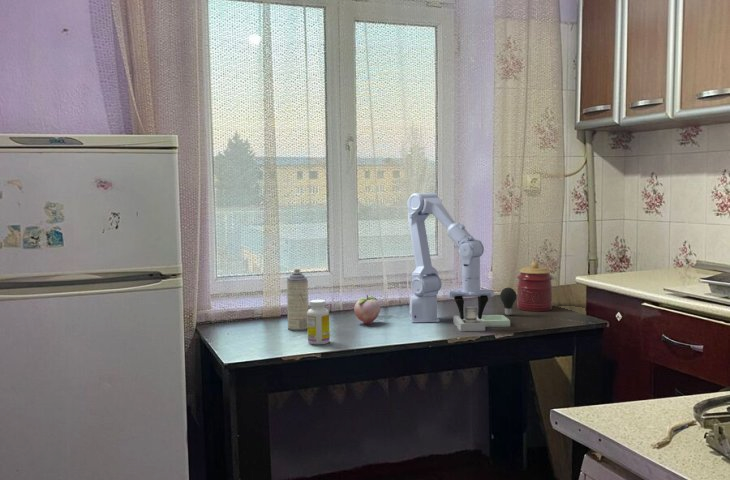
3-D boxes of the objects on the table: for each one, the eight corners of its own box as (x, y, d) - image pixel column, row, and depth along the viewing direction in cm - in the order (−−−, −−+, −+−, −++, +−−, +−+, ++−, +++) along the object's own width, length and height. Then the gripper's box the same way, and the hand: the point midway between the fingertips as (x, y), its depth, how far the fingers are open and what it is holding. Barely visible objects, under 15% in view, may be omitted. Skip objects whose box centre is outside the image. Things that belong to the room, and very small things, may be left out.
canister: (510, 306, 266) (510, 260, 264) (540, 304, 270) (541, 258, 268) (528, 313, 254) (528, 264, 252) (559, 310, 258) (560, 262, 256)
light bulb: (515, 313, 252) (515, 286, 251) (517, 317, 247) (517, 289, 246) (499, 313, 253) (499, 286, 252) (500, 316, 247) (501, 288, 246)
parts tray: (482, 327, 232) (482, 321, 232) (476, 321, 241) (476, 315, 241) (510, 326, 232) (510, 320, 232) (503, 320, 241) (503, 314, 241)
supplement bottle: (329, 339, 217) (329, 298, 216) (329, 344, 210) (328, 302, 209) (308, 340, 217) (307, 299, 215) (307, 345, 210) (306, 303, 209)
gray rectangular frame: (460, 331, 226) (460, 323, 226) (453, 322, 239) (453, 315, 239) (485, 330, 226) (485, 323, 226) (476, 322, 239) (476, 315, 239)
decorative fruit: (363, 320, 244) (363, 291, 243) (384, 322, 240) (383, 293, 239) (349, 325, 236) (348, 296, 235) (370, 328, 232) (369, 298, 231)
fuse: (466, 330, 227) (466, 309, 227) (464, 327, 231) (464, 306, 230) (477, 330, 228) (477, 308, 227) (475, 327, 231) (475, 306, 231)
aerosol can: (312, 327, 234) (311, 268, 232) (302, 332, 228) (301, 271, 226) (294, 325, 237) (293, 267, 235) (284, 330, 230) (282, 269, 228)
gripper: (451, 279, 223) (451, 321, 225) (496, 278, 224) (495, 320, 225) (447, 276, 230) (447, 317, 232) (490, 275, 231) (490, 316, 232)
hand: (470, 318), depth 229 cm, fingers open, 5 cm apart
